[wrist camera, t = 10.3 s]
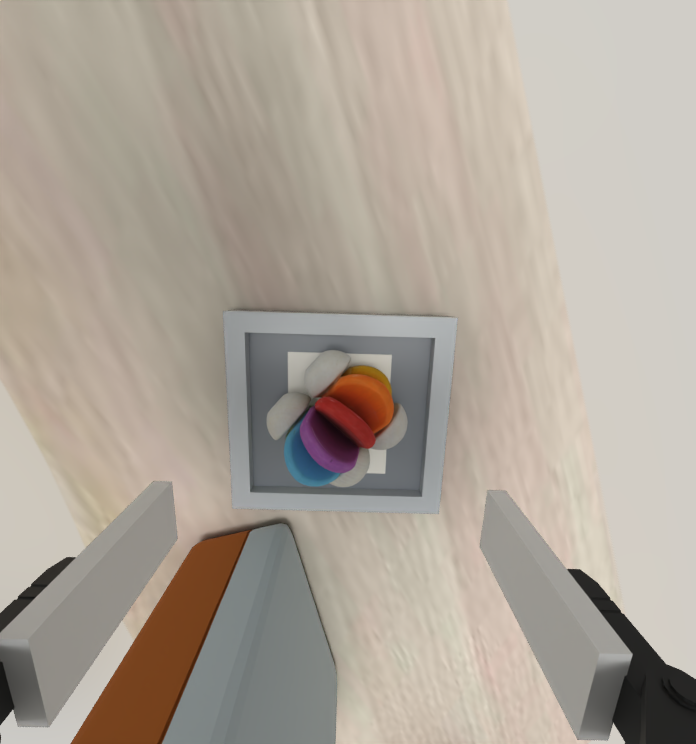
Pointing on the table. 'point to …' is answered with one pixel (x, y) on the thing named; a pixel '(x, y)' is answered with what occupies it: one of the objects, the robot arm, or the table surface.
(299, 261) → the table surface
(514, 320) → the table surface
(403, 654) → the table surface
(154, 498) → the robot arm
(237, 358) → the square gray tray
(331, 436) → the rainbow disc rolling toy
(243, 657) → the rectangular block
